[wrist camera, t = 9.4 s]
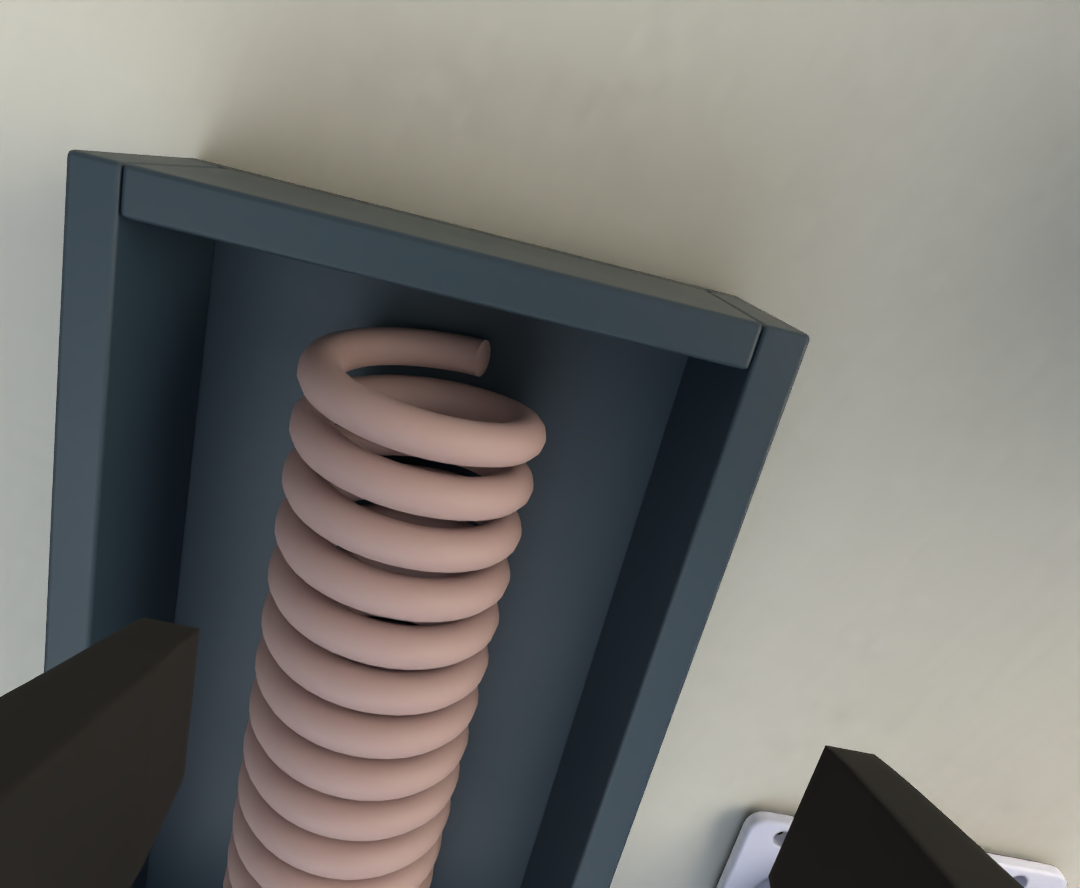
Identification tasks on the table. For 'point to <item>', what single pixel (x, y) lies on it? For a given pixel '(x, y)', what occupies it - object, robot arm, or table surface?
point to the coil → (377, 611)
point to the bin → (264, 443)
